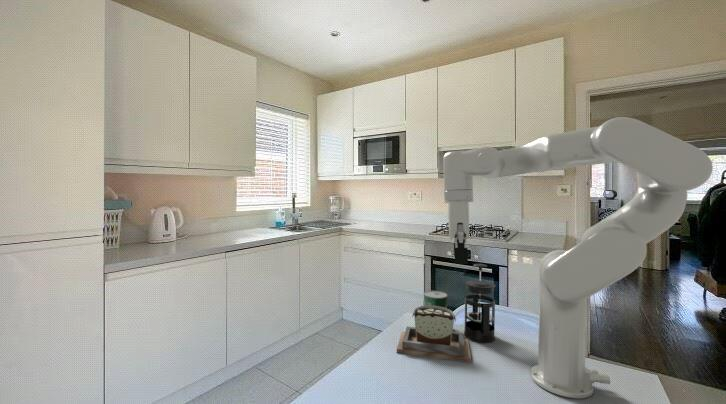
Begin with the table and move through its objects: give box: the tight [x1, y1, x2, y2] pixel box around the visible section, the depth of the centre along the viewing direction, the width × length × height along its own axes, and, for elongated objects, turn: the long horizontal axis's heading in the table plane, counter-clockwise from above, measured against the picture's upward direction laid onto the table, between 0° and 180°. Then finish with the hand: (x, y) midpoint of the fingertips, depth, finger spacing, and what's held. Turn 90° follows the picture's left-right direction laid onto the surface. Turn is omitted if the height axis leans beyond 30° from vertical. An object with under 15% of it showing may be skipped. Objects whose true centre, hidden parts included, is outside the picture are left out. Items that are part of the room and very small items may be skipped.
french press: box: [463, 263, 496, 344], centre depth 99 cm, size 12×9×23 cm
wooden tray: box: [396, 326, 472, 363], centre depth 92 cm, size 20×12×3 cm, turn 76°
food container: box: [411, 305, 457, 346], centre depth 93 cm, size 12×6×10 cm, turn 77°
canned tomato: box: [423, 290, 448, 309], centre depth 108 cm, size 8×8×11 cm
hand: (460, 259), depth 85 cm, fingers open, 9 cm apart
